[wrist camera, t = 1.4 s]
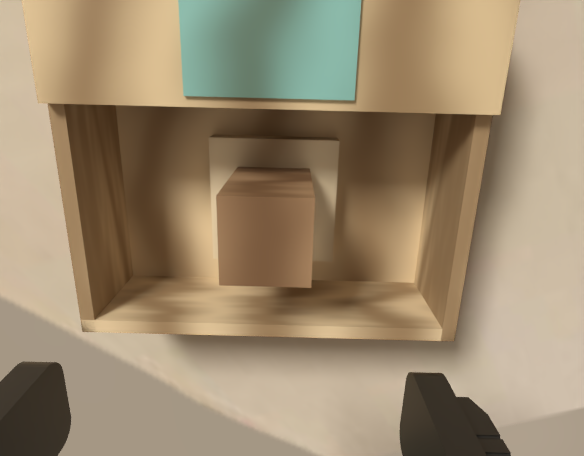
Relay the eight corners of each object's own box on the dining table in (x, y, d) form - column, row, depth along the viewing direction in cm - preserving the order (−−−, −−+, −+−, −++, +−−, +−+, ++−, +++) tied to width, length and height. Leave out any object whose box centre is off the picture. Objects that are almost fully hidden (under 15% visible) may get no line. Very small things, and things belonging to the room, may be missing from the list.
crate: (463, -33, 25) (537, -86, 17) (420, 287, 31) (460, 351, 24) (92, -43, 25) (2, -100, 17) (127, 280, 31) (73, 341, 24)
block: (309, 168, 26) (315, 198, 19) (307, 236, 28) (311, 287, 20) (237, 166, 26) (216, 195, 19) (238, 234, 28) (219, 285, 20)
